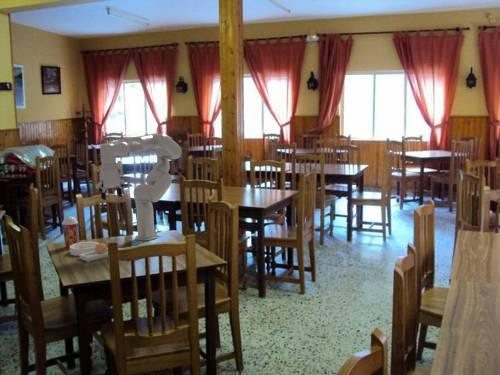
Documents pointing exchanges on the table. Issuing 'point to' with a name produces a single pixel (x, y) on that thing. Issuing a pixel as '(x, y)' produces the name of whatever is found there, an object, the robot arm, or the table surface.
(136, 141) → the robot arm
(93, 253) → the tray
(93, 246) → the bowl
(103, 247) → the ball
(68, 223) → the smoothie
